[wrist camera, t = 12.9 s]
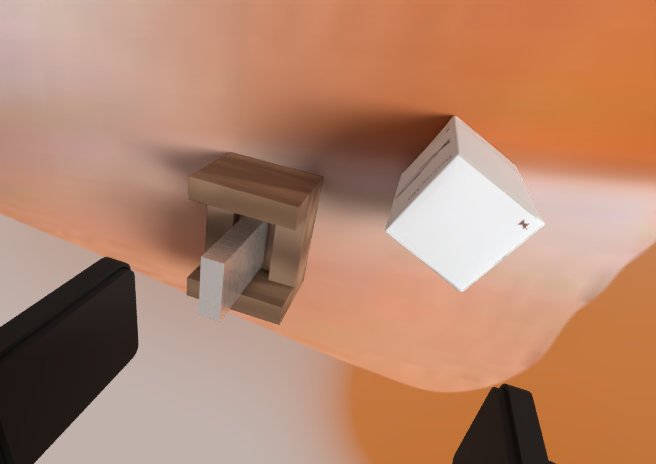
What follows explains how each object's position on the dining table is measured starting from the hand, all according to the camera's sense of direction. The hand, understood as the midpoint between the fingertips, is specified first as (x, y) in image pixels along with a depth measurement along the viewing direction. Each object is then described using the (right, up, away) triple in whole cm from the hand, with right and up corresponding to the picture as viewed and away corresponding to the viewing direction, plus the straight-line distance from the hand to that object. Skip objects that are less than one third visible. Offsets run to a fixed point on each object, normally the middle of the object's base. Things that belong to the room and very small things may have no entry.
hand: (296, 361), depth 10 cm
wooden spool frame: (-6, +5, +34) cm, 35 cm away
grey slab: (-6, +3, +32) cm, 33 cm away
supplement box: (+13, +9, +27) cm, 31 cm away
